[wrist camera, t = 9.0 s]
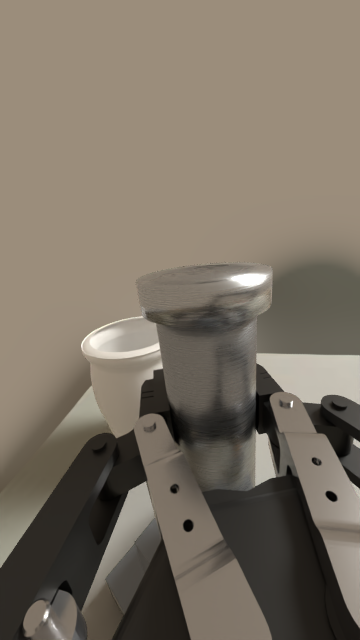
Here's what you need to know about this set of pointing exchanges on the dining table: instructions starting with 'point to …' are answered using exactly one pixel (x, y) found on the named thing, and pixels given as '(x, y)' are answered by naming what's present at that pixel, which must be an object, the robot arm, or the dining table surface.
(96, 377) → the jar
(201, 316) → the cylinder
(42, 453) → the dining table surface
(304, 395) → the dining table surface
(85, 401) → the dining table surface
